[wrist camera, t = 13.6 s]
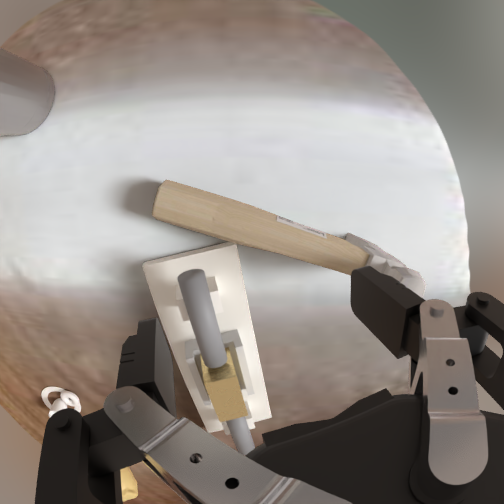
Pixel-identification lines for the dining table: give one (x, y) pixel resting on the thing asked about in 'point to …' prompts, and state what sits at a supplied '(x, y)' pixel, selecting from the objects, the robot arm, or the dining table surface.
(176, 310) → the shaft rig
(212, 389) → the gold rectangular block
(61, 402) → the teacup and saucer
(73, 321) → the dining table surface
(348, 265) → the hammer
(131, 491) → the tan round ball
